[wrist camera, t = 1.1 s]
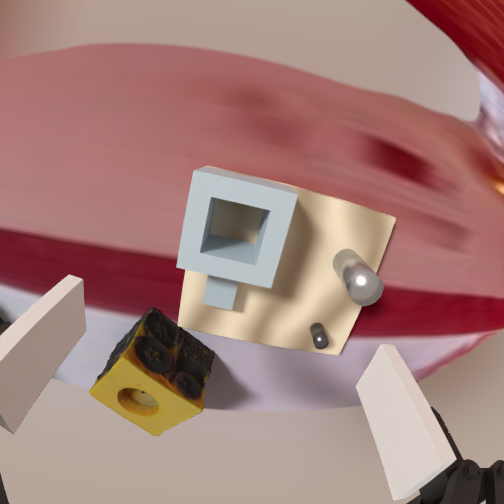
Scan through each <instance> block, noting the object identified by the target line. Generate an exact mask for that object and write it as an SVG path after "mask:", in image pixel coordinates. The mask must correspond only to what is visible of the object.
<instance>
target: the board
mask: <svg viewBox="0 0 504 504" xmlns="http://www.w3.org/2000/svg"><path fill="white" fill-rule="evenodd" d="M206 167H210V168H215V169H220V170H225V171H229V172H234V173H238V174H242V175H247V176H251V177H255V178H259V179H263V180H268V181H272V182H276V183H279V184H283V185H287V186H289V187H291V188H292V189H293V190H294V191H295V192H296V193H297V194H298V197H297V200H296V204H295V208H294V211H293V215H292V218H291V222H290V225H289V229H288V232H287V236H286V239H285V243H284V246H283V250H282V253H281V256H280V260H279V263H278V267H277V270H276V273H275V277H274V280H273V283H272V287H271V288H267V287H262V286H257V285H253V284H248V283H243V282H239V283H238V287H237V291H236V295H235V299H234V303H233V307H232V310H228V309H224V308H219V307H215V306H210V305H206V304H203V298H204V293H205V288H206V283H207V277H208V274H203V273H199V272H195V271H190V270H185V277H184V283H183V290H182V297H181V304H180V311H179V319H178V326H179V327H183V328H188V329H192V330H196V331H200V332H205V333H209V334H214V335H219V336H223V337H228V338H233V339H238V340H243V341H248V342H254V343H259V344H265V345H271V346H277V347H283V348H289V349H296V350H303V351H310V352H317V353H325V354H333V355H339V354H340V352H341V350H342V348H343V346H344V344H345V342H346V340H347V338H348V336H349V334H350V331H351V329H352V327H353V325H354V323H355V321H356V319H357V317H358V314H359V312H360V310H361V308H362V306H360V305H358V304H356V303H355V302H354V301H353V299H352V297H351V296H350V294H349V293H348V291H347V289H346V288H345V286H344V285H343V283H342V282H341V280H340V278H339V277H338V275H337V274H336V272H335V271H334V269H333V265H332V263H333V259H334V257H335V255H336V254H337V253H338V252H339V251H341V250H343V249H352V250H354V251H355V252H356V253H357V254H358V255H359V256H360V257H361V258H362V259H363V260H364V261H365V262H366V263H367V265H368V266H369V267H370V268H371V269H372V270H373V271H374V272H375V273H376V272H377V270H378V267H379V264H380V262H381V259H382V257H383V254H384V251H385V249H386V246H387V243H388V240H389V237H390V235H391V232H392V229H393V226H394V223H395V220H396V218H394V217H392V216H391V215H388V214H385V213H382V212H379V211H376V210H373V209H370V208H367V207H364V206H361V205H358V204H355V203H351V202H348V201H345V200H342V199H338V198H335V197H332V196H328V195H325V194H321V193H318V192H314V191H311V190H307V189H304V188H300V187H296V186H292V185H289V184H285V183H281V182H277V181H273V180H269V179H265V178H261V177H257V176H253V175H248V174H244V173H240V172H235V171H231V170H226V169H222V168H217V167H212V166H206ZM263 212H264V209H262V208H258V207H254V206H249V205H245V204H241V203H236V202H232V201H228V200H223V199H219V198H217V199H216V204H215V208H214V213H213V218H212V223H211V227H210V232H209V234H214V235H218V236H222V237H227V238H231V239H236V240H240V241H244V242H249V243H253V244H255V243H256V239H257V235H258V231H259V227H260V223H261V219H262V216H263ZM314 323H321V324H322V325H323V327H324V330H325V332H326V335H327V338H328V340H329V345H328V346H327V347H326V348H325V349H322V350H319V349H316V348H315V346H314V342H313V339H312V335H311V332H310V327H311V325H312V324H314Z"/></svg>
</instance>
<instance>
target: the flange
mask: <svg viewBox="0 0 504 504" xmlns="http://www.w3.org/2000/svg"><path fill="white" fill-rule="evenodd" d="M297 197H298V194H297V193H296V192H295V191H294V190H293V189H292V188H291V187H289V186H287V185H283V184H279V183H276V182H272V181H268V180H263V179H259V178H255V177H251V176H247V175H242V174H238V173H234V172H229V171H225V170H220V169H215V168H210V167H206V166H205V167H202V168H199V169H196V170H194V172H193V177H192V181H191V186H190V191H189V197H188V202H187V207H186V213H185V218H184V224H183V230H182V235H181V242H180V248H179V254H178V261H177V267H178V268H182V269H186V270H190V271H195V272H199V273H203V274H208V277H207V283H206V288H205V293H204V298H203V304H206V305H210V306H215V307H219V308H224V309H228V310H232V307H233V303H234V299H235V295H236V291H237V287H238V283H239V282H243V283H248V284H253V285H257V286H262V287H267V288H271V287H272V283H273V280H274V277H275V273H276V270H277V267H278V263H279V260H280V256H281V253H282V250H283V246H284V243H285V239H286V236H287V232H288V229H289V225H290V222H291V218H292V215H293V211H294V208H295V204H296V200H297ZM217 198H219V199H223V200H228V201H232V202H236V203H241V204H245V205H249V206H254V207H258V208H262V209H264V212H263V216H262V219H261V223H260V227H259V231H258V235H257V239H256V243H255V244H253V243H249V242H244V241H240V240H236V239H231V238H227V237H222V236H218V235H214V234H209V232H210V227H211V223H212V218H213V213H214V208H215V204H216V199H217Z"/></svg>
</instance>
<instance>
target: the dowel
mask: <svg viewBox="0 0 504 504" xmlns="http://www.w3.org/2000/svg"><path fill="white" fill-rule="evenodd" d="M310 332H311V335H312V339H313V342H314V346H315V348H316V349H319V350H322V349H325V348H326V347H327V346H328V345H329V340H328V338H327V335H326V332H325V330H324V327H323V325H322V324H321V323H314V324H312V325H311V327H310Z"/></svg>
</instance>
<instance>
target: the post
mask: <svg viewBox="0 0 504 504" xmlns="http://www.w3.org/2000/svg"><path fill="white" fill-rule="evenodd" d="M332 265H333V269H334V271H335V272H336V274H337V275H338V277H339V278H340V280H341V282H342V283H343V285H344V286H345V288H346V289H347V291H348V293H349V294H350V296H351V297H352V299H353V301H354V302H355V303H356V304H358V305H360V306H368V305H371V304H373V303H375V302H376V301H377V300H378V299H379V298H380V296H381V294H382V292H383V282H382V280H381V279H380V278H379V277H378V275H377V274H376V273H375V272H374V271H373V270H372V269H371V268H370V267H369V266H368V265H367V263H366V262H365V261H364V260H363V259H362V258H361V257H360V256H359V255H358V254H357V253H356V252H355V251H354V250H352V249H343V250H341V251H339V252H338V253H337V254H336V255H335V257H334V259H333V263H332Z"/></svg>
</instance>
